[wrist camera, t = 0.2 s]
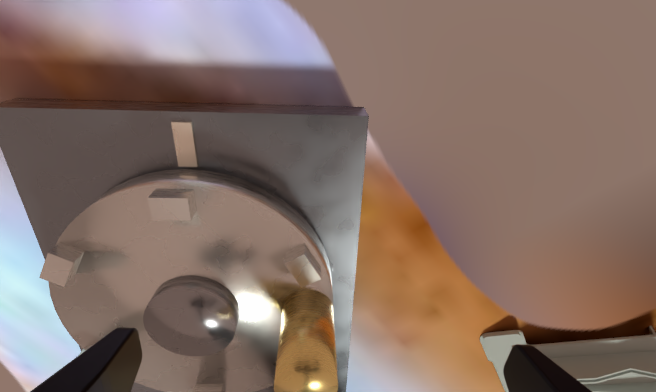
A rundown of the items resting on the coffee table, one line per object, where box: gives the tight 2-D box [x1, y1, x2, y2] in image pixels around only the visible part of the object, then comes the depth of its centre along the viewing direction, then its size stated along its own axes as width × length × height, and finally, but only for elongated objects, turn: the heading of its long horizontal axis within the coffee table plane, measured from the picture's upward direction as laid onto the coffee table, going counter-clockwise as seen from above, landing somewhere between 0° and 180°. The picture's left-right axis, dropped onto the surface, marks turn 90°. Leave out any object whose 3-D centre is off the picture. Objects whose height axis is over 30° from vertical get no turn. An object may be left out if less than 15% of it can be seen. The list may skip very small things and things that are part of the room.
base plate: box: [0, 99, 369, 392], centre depth 24 cm, size 22×19×2 cm
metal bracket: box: [480, 326, 656, 392], centre depth 30 cm, size 14×6×15 cm
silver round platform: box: [40, 169, 338, 392], centre depth 20 cm, size 16×16×7 cm
